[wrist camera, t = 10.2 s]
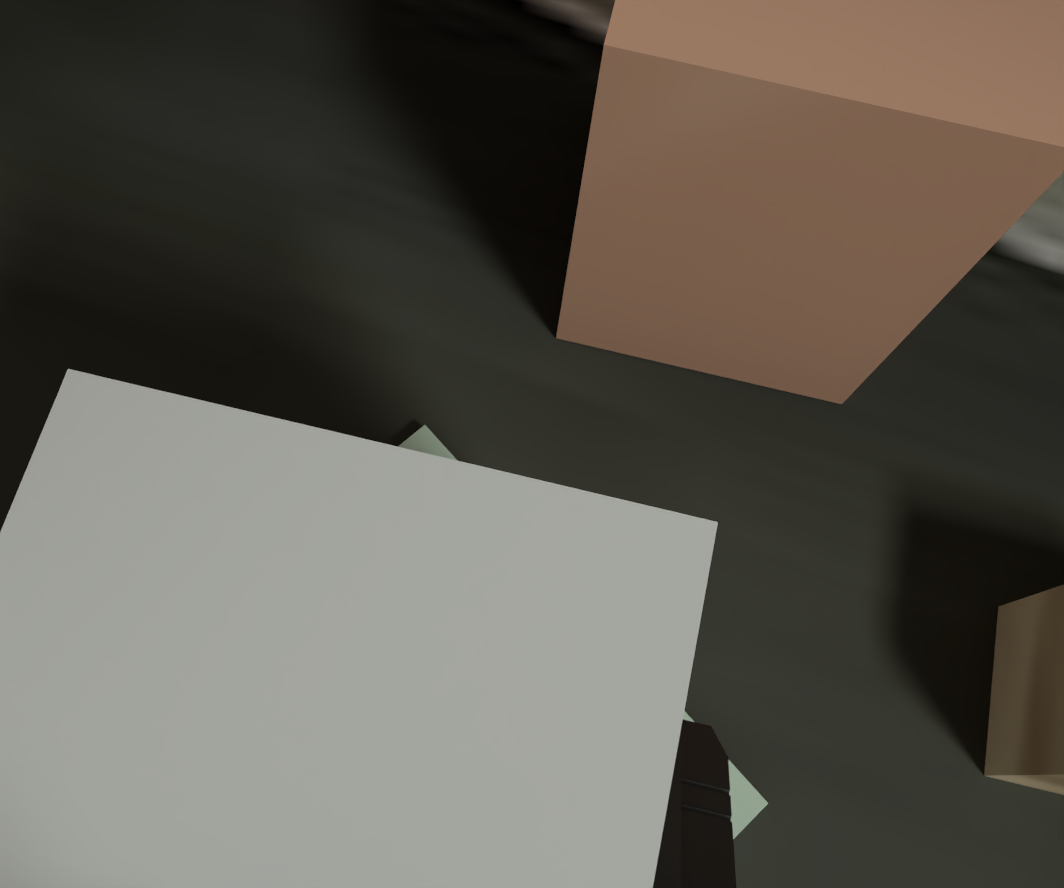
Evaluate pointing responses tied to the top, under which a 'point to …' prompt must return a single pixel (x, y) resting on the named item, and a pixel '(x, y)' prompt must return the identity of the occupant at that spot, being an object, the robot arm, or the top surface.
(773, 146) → the salmon brown rectangular block
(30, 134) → the top surface
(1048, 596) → the letter cube
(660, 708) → the light grey rectangular block
